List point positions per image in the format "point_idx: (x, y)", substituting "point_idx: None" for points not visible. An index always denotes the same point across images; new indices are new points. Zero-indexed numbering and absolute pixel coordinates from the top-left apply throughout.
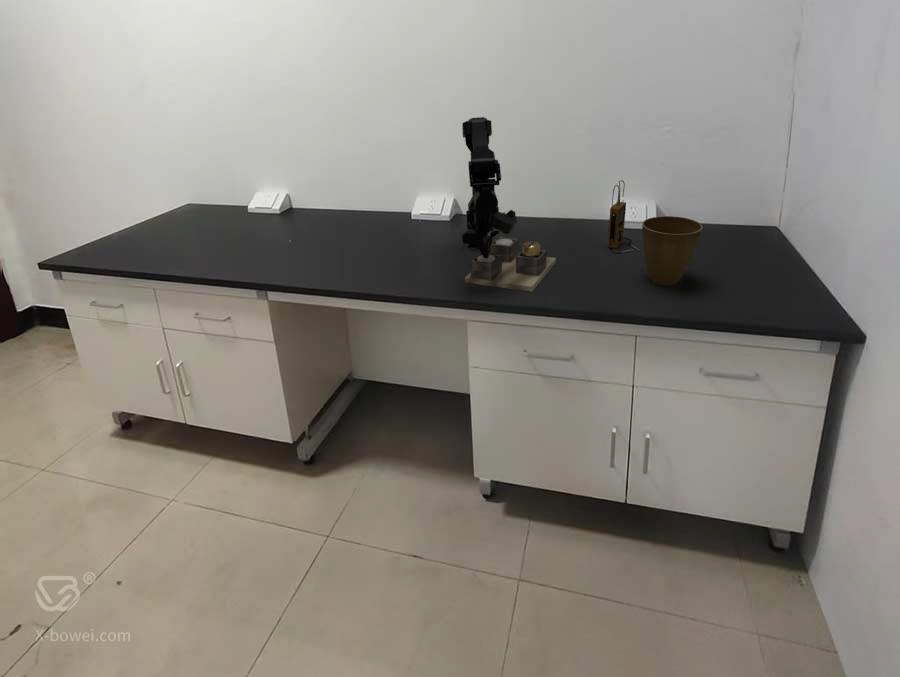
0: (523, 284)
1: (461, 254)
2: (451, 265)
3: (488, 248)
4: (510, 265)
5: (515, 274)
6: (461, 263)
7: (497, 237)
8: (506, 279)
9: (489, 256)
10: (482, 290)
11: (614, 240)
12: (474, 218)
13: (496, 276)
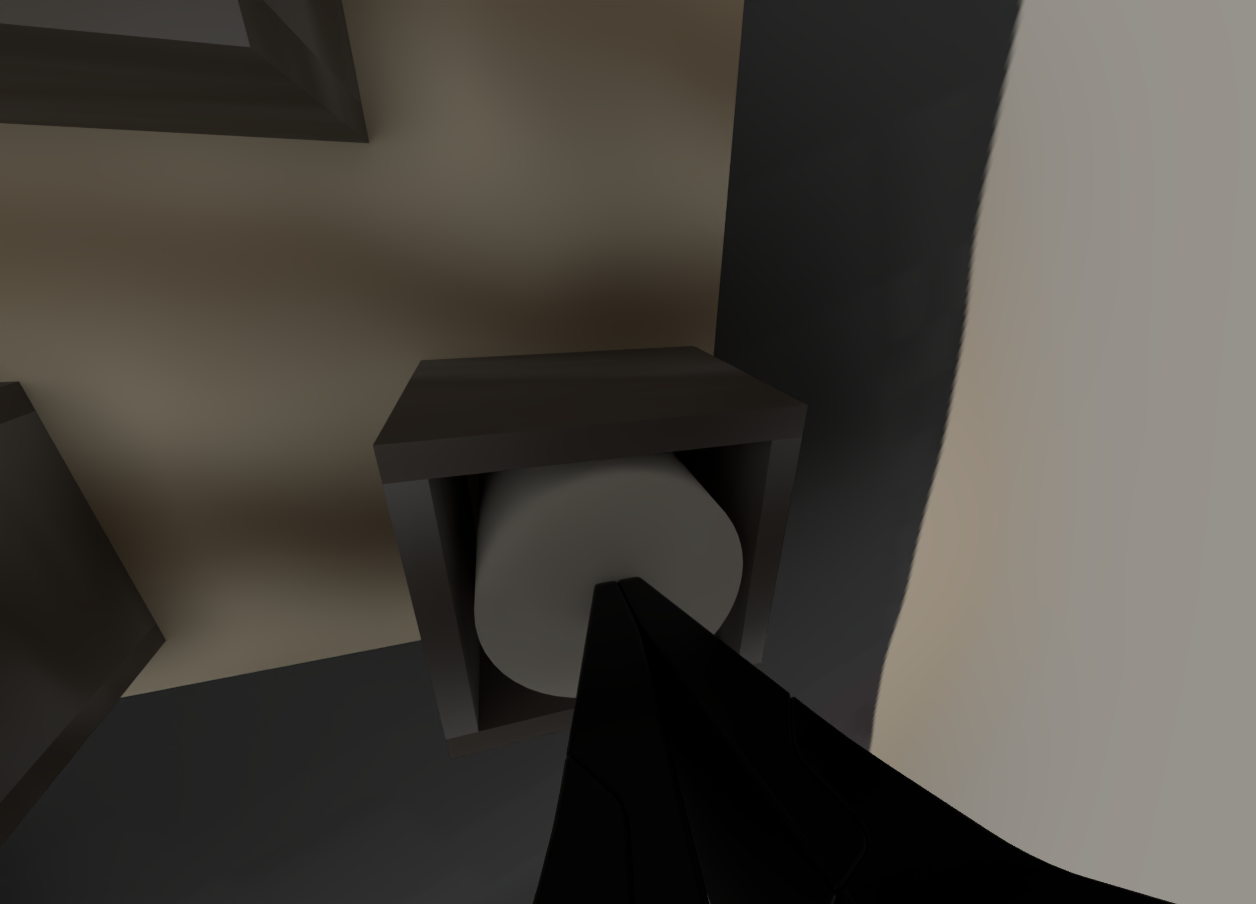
0: None
1: (153, 878)
2: (423, 789)
3: (740, 701)
4: (142, 338)
5: (427, 130)
6: (343, 771)
7: None
8: (629, 204)
9: (549, 587)
10: (783, 378)
11: None
12: None
13: (603, 352)
